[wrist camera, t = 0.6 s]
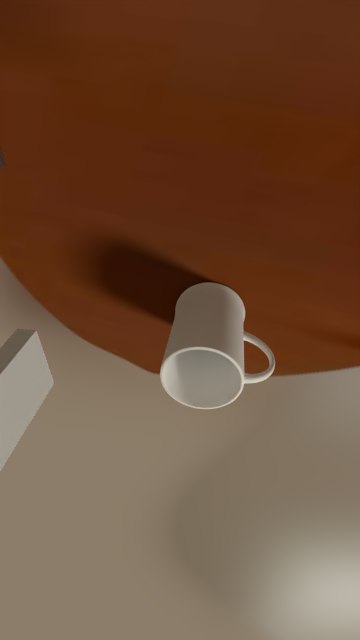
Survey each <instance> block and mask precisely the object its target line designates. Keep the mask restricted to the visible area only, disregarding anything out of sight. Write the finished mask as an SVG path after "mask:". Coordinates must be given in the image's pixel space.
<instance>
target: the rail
mask: <svg viewBox="0 0 360 640" xmlns="http://www.w3.org/2000/svg"><path fill="white" fill-rule="evenodd" d="M4 165H5V162H4V158H3V155H2V151H1V147H0V167H1V166H4Z"/></svg>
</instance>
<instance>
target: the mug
mask: <svg viewBox="0 0 360 640" xmlns="http://www.w3.org/2000/svg"><path fill="white" fill-rule="evenodd" d="M244 318H245V308H244V305H243V302H242V300H241V299H240V297H239V296H238V295H237V294H236V293H235V292H234V291H233V290H232V289H230V288H229V287H227V286H224V285H222V284H218V283H212V282H206V283H200V284H196V285H193V286H191V287H190V288H188V289H187V290H185V291H184V292H183V293H182V294H181V296H180V297H179V299H178V301H177V303H176V308H175V318H174V322H173V326H172V329H171V333H170V336H169V340H168V344H167V347H166V351H165V355H164V358H163V362H162V365H161V370H160V380H161V383H162V385H163V387H164V389H165V391H166V392H167V393H168V394H169V395H170V396H171V397H172V398H173V399H175V400H176V401H178V402H180V403H182V404H184V405H186V406H189V407H193V408H199V409H214V408H219V407H222V406H225V405H227V404H229V403H231V402H232V401H234V400H235V399H236V398H237V397H238V396H239V395H240V393H241V391H242V389H243V386H244V383H256V382H260V381H263V380H265V379H266V378H268V377H269V376H270V375H271V374H272V372H273V370H274V367H275V359H274V355H273V353H272V351H271V350H270V348H269V347H268V346H267V345H266V344H265V343H264V342H263V341H261V340H260V339H259V338H257V337H255V336H254V335H252V334H249V333H247V332H245V331H243V322H244ZM243 340H245V341H249V342H251V343H253V344H255V345H256V346H258V347H259V348H260V349H262V350H263V351H264V353H265V354H266V355H267V357H268V359H269V362H270V366H269V368H268V369H267V370H266V371H264V372H262V373H258V374H249V373H245V372H244V342H243Z"/></svg>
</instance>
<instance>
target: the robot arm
mask: <svg viewBox="0 0 360 640" xmlns="http://www.w3.org/2000/svg"><path fill="white" fill-rule="evenodd" d="M53 384H54V382H53V379H52V376H51V373H50V370H49V367H48V364H47V361H46V358H45V355H44V352H43V349H42V346H41V343H40V340H39V337H38V334H37V331H36V330H23V329H17V330H16V331H15V333H14V334H13V335H12V336H11V337H10V338H9V339H8V340H7V341H6V342H5V344H4V345H3V346H2V347H1V348H0V471H1V469H2V467H3V466H4V464H5V462H6V461H7V459H8V458H9V456H10V454H11V453H12V451H13V449H14V448H15V446H16V444H17V443H18V441H19V440H20V438H21V436H22V435H23V433H24V431H25V430H26V428H27V427H28V425H29V423H30V422H31V420H32V418H33V417H34V415H35V414H36V412H37V410H38V409H39V407H40V405H41V404H42V402H43V401H44V399H45V397H46V396H47V394H48V392H49V391H50V389H51V387H52V386H53Z"/></svg>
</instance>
